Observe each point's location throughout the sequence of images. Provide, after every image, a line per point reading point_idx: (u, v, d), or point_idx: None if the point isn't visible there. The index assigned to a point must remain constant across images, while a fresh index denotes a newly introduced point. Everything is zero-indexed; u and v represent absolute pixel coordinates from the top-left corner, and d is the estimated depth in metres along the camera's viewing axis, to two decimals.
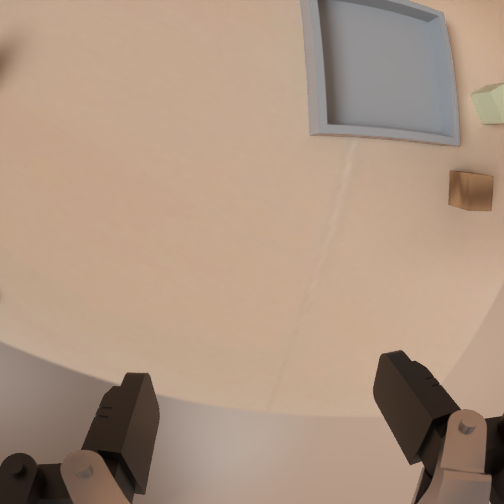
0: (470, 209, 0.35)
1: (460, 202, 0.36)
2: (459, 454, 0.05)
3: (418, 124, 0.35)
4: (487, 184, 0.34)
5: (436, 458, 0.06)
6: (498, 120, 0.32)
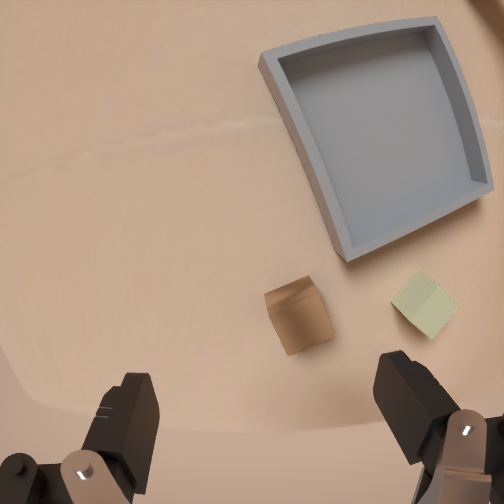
0: (272, 318, 0.29)
1: (273, 303, 0.30)
2: (459, 454, 0.05)
3: (342, 197, 0.29)
4: (320, 331, 0.29)
5: (436, 458, 0.06)
6: (409, 314, 0.30)
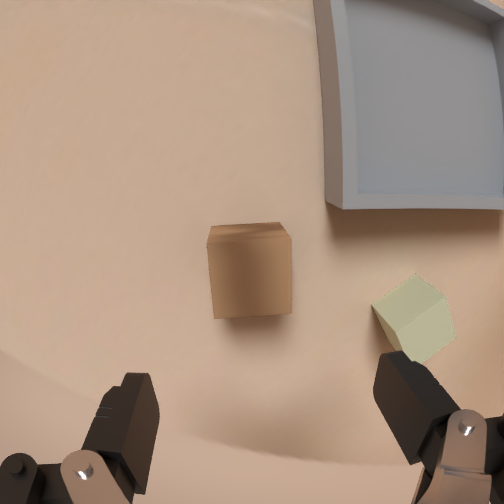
0: (210, 247, 0.19)
1: (220, 234, 0.21)
2: (459, 454, 0.05)
3: (358, 134, 0.21)
4: (272, 297, 0.20)
5: (436, 458, 0.06)
6: (396, 323, 0.22)
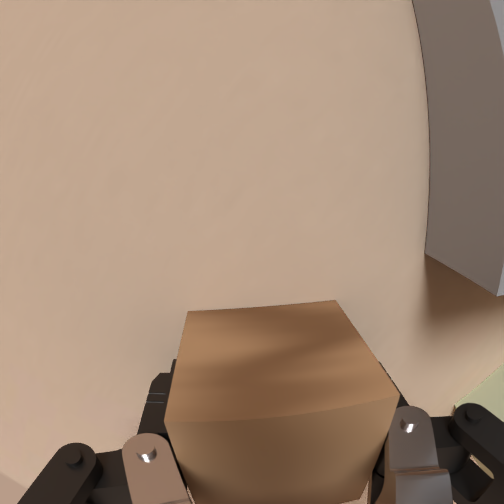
0: (175, 430, 0.06)
1: (203, 361, 0.08)
2: (407, 453, 0.05)
3: None
4: (328, 490, 0.07)
5: (380, 453, 0.07)
6: None
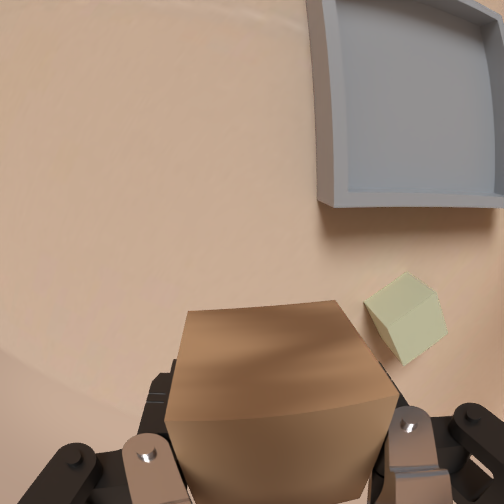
0: (175, 429, 0.06)
1: (204, 360, 0.08)
2: (407, 453, 0.05)
3: (349, 135, 0.22)
4: (328, 489, 0.07)
5: (379, 453, 0.07)
6: (387, 319, 0.23)
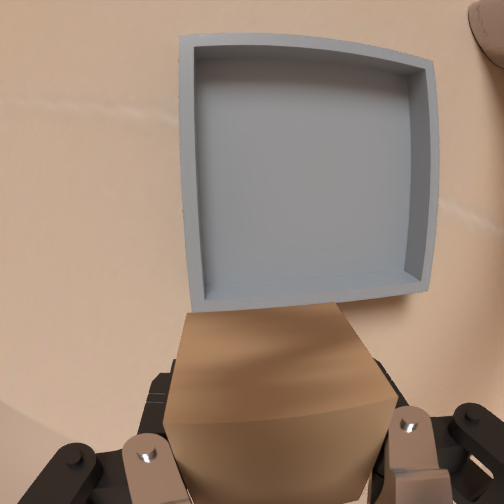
0: (173, 432, 0.06)
1: (202, 363, 0.08)
2: (407, 453, 0.05)
3: (220, 235, 0.25)
4: (327, 491, 0.07)
5: (379, 453, 0.07)
6: None
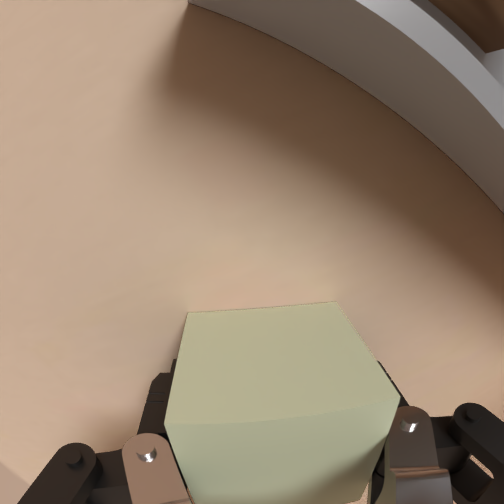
0: None
1: None
2: (407, 453, 0.05)
3: None
4: None
5: None
6: (190, 398, 0.06)
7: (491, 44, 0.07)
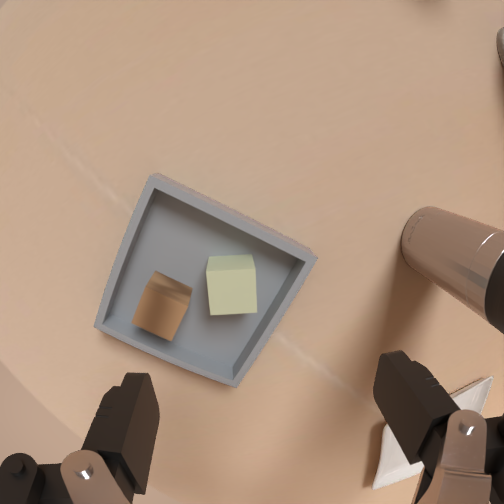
0: (146, 289, 0.32)
1: (155, 281, 0.34)
2: (459, 454, 0.05)
3: (127, 293, 0.37)
4: (165, 328, 0.34)
5: (436, 458, 0.06)
6: (211, 268, 0.33)
7: None
